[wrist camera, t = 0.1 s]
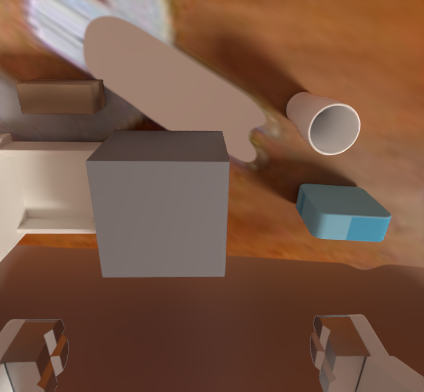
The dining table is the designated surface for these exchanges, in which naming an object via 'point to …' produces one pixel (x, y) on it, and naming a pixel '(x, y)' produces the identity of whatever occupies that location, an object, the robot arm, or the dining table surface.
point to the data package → (342, 213)
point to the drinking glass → (323, 122)
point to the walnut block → (61, 96)
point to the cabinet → (160, 203)
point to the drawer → (43, 189)
